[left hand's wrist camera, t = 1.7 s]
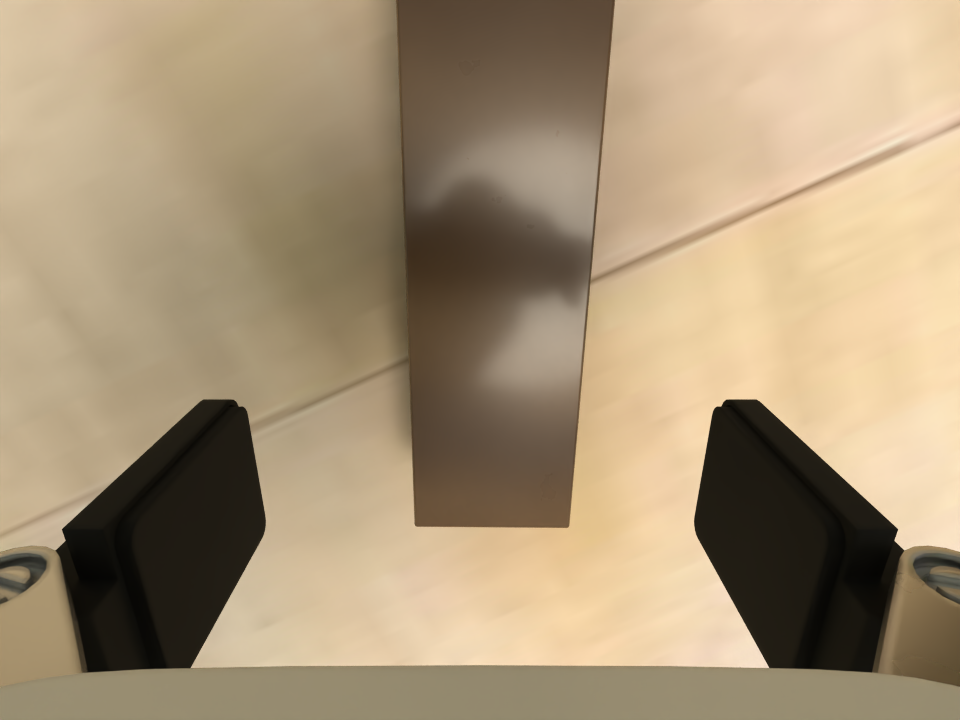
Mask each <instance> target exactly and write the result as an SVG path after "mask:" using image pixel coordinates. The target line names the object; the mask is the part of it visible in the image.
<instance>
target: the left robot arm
mask: <svg viewBox="0 0 960 720" xmlns="http://www.w3.org/2000/svg"><path fill="white" fill-rule="evenodd" d="M265 526H266V518H265V512H264V506H263V500H262V494H261V489H260V483H259V477H258V471H257V466H256V460H255V454H254V448H253V442H252V437H251V431H250V425H249V419H248V414H247V411H246V409H245V408H244V407H239V406H238V404H237V402H236V401H234V400H202V401H200V402H199V403H198V404H197V405H196V406H195V407H194V408H193V409H192V410H191V411H190V412H188V413H187V414H186V415H185V416H184V417H183V418H182V419H181V420H180V421H179V422H178V423H177V424H175V425H174V426H173V427H172V428H171V429H170V430H169V431H168V432H167V433H166V434H165V435H164V436H162V437H161V438H160V439H159V440H158V441H157V442H156V443H155V444H154V445H153V446H152V447H151V448H149V449H148V450H147V451H146V452H145V453H144V454H143V455H142V456H141V457H140V458H139V459H138V460H136V461H135V462H134V463H133V464H132V465H131V466H130V467H129V468H128V469H127V470H126V471H125V472H123V473H122V474H121V475H120V476H119V477H118V478H117V479H116V480H115V481H114V482H113V483H112V484H110V485H109V486H108V487H107V488H106V489H105V490H104V491H103V492H102V493H101V494H100V495H99V496H97V497H96V498H95V499H94V500H93V501H92V502H91V503H90V504H89V505H88V506H87V507H86V508H84V509H83V510H82V511H81V512H80V513H79V514H78V515H77V516H76V517H75V518H74V519H73V520H71V521H70V522H69V523H68V524H67V525H66V526H65V527H64V528H63V529H62V531H63V534H64V537H65V540H66V541H65V542H64V543H63V544H62V545H61V546H60V547H59V548H58V549H57V550H56V551H55V550H53V549H50V548H48V547H43V546H27V547H19V548H13V549H10V550H6V551H2V552H0V720H960V552H958V551H954V550H950V549H947V548H941V547H933V546H917V547H912V548H910V549H907V550H905V551H904V550H903V549H902V548H901V547H900V546H899V545H898V544H897V543H896V542H895V541H894V540H895V537H896V534H897V531H898V529H897V528H896V527H895V526H894V525H893V524H892V523H891V522H890V521H889V520H887V519H886V518H885V517H884V516H883V515H882V514H881V513H880V512H879V511H878V510H877V509H876V508H874V507H873V506H872V505H871V504H870V503H869V502H868V501H867V500H866V499H865V498H864V497H863V496H861V495H860V494H859V493H858V492H857V491H856V490H855V489H854V488H853V487H852V486H851V485H850V484H848V483H847V482H846V481H845V480H844V479H843V478H842V477H841V476H840V475H839V474H838V473H837V472H835V471H834V470H833V469H832V468H831V467H830V466H829V465H828V464H827V463H826V462H825V461H824V460H822V459H821V458H820V457H819V456H818V455H817V454H816V453H815V452H814V451H813V450H812V449H811V448H809V447H808V446H807V445H806V444H805V443H804V442H803V441H802V440H801V439H800V438H799V437H798V436H796V435H795V434H794V433H793V432H792V431H791V430H790V429H789V428H788V427H787V426H786V425H785V424H783V423H782V422H781V421H780V420H779V419H778V418H777V417H776V416H775V415H774V414H773V413H772V412H770V411H769V410H768V409H767V408H766V407H765V406H764V405H763V404H762V403H761V402H760V401H758V400H726V401H724V402H723V404H722V406H721V407H716V408H715V409H714V411H713V414H712V419H711V425H710V431H709V437H708V442H707V448H706V454H705V460H704V466H703V471H702V477H701V483H700V489H699V494H698V500H697V506H696V512H695V518H694V526H695V532H696V535H697V537H698V539H699V541H700V543H701V545H702V546H703V548H704V550H705V552H706V554H707V556H708V557H709V559H710V561H711V563H712V565H713V566H714V568H715V570H716V572H717V574H718V575H719V577H720V579H721V581H722V583H723V585H724V586H725V588H726V590H727V592H728V594H729V595H730V597H731V599H732V601H733V603H734V604H735V606H736V608H737V610H738V612H739V614H740V615H741V617H742V619H743V621H744V623H745V624H746V626H747V628H748V630H749V632H750V633H751V635H752V637H753V639H754V641H755V643H756V644H757V646H758V648H759V650H760V652H761V653H762V655H763V657H764V659H765V661H766V662H767V664H768V666H769V668H729V667H678V666H497V665H463V666H282V667H231V668H191V666H192V664H193V662H194V661H195V659H196V657H197V655H198V653H199V652H200V650H201V648H202V646H203V644H204V643H205V641H206V639H207V637H208V635H209V633H210V632H211V630H212V628H213V626H214V624H215V623H216V621H217V619H218V617H219V615H220V614H221V612H222V610H223V608H224V606H225V604H226V603H227V601H228V599H229V597H230V595H231V594H232V592H233V590H234V588H235V586H236V585H237V583H238V581H239V579H240V577H241V575H242V574H243V572H244V570H245V568H246V566H247V565H248V563H249V561H250V559H251V557H252V556H253V554H254V552H255V550H256V548H257V546H258V545H259V543H260V541H261V539H262V537H263V535H264V532H265Z"/></svg>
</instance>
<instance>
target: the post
mask: <svg viewBox="0 0 960 720" xmlns="http://www.w3.org/2000/svg"><path fill="white" fill-rule="evenodd" d="M614 5H615V0H396V8H397V37H398V65H399V93H400V122H401V150H402V178H403V207H404V235H405V263H406V291H407V320H408V348H409V376H410V405H411V433H412V461H413V490H414V518H415V526H417V527H533V528H568V527H569V523H570V511H571V500H572V488H573V477H574V465H575V454H576V442H577V431H578V419H579V408H580V396H581V385H582V373H583V362H584V350H585V339H586V327H587V316H588V304H589V293H590V281H591V270H592V258H593V247H594V235H595V224H596V212H597V201H598V189H599V178H600V166H601V155H602V143H603V132H604V120H605V109H606V97H607V86H608V74H609V63H610V51H611V40H612V28H613V17H614Z"/></svg>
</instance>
